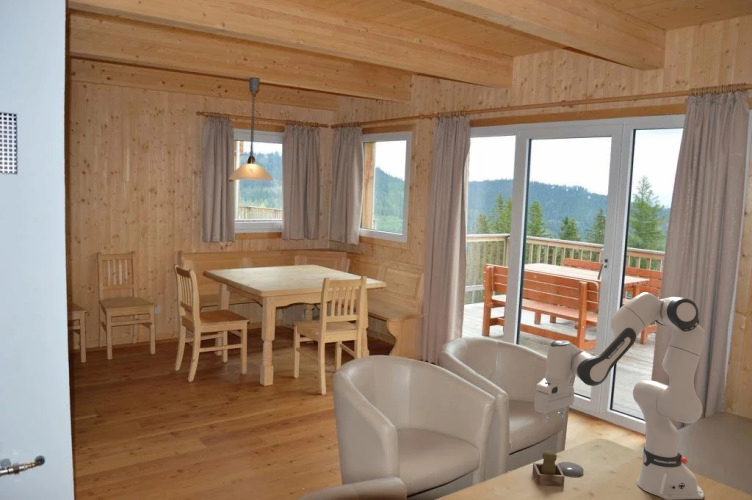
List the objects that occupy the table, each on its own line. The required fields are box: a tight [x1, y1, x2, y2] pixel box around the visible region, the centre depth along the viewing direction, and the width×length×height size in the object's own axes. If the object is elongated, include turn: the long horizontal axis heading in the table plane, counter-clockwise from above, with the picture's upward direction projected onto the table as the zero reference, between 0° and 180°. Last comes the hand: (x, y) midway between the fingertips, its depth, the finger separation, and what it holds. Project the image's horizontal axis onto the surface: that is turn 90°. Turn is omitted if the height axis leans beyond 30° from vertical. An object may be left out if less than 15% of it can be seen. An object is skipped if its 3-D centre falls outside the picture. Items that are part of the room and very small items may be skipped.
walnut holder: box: [532, 462, 566, 488], centre depth 234 cm, size 10×10×4 cm
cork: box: [541, 449, 558, 475], centre depth 233 cm, size 6×6×11 cm
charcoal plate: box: [557, 461, 585, 477], centre depth 242 cm, size 10×10×1 cm
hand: (553, 419), depth 231 cm, fingers open, 8 cm apart
